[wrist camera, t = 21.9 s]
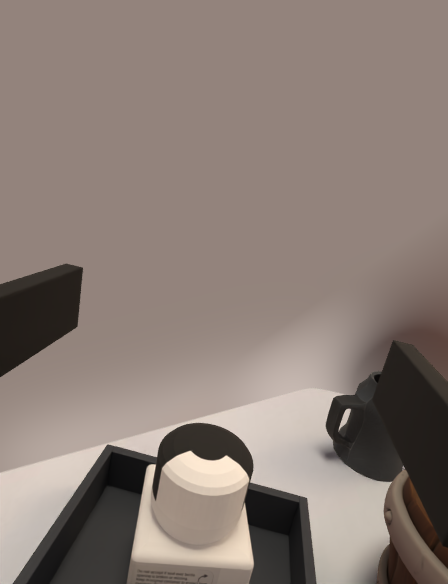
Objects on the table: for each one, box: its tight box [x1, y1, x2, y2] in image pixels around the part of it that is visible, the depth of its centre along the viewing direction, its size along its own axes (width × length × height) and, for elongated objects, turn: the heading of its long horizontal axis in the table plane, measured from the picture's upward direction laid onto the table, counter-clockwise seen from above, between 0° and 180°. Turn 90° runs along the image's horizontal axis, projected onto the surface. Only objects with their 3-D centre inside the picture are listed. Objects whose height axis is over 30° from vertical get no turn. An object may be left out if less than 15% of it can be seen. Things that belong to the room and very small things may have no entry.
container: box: [127, 423, 254, 584], centre depth 26 cm, size 8×8×13 cm
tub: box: [13, 445, 316, 584], centre depth 27 cm, size 20×16×5 cm
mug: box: [326, 371, 403, 481], centre depth 47 cm, size 12×9×11 cm
